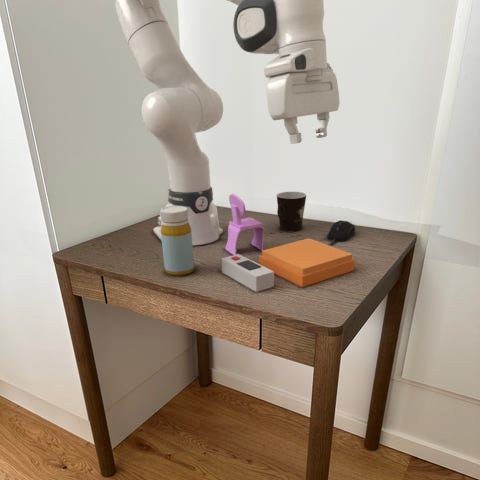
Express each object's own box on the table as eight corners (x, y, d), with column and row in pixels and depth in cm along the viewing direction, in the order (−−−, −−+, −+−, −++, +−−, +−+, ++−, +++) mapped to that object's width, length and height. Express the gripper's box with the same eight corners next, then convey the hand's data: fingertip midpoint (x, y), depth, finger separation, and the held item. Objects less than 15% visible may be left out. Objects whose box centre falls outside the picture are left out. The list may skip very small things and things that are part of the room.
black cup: (293, 222, 143) (294, 190, 138) (310, 229, 137) (312, 195, 132) (262, 229, 138) (262, 195, 133) (279, 236, 131) (279, 201, 127)
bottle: (166, 266, 113) (159, 206, 106) (194, 265, 113) (189, 204, 106) (164, 277, 107) (157, 214, 100) (194, 275, 107) (189, 212, 100)
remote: (222, 272, 109) (221, 257, 107) (238, 267, 111) (238, 252, 109) (256, 292, 98) (256, 275, 96) (274, 286, 101) (274, 270, 99)
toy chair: (266, 251, 121) (266, 193, 114) (236, 257, 117) (234, 198, 110) (252, 242, 127) (251, 187, 120) (223, 247, 124) (220, 191, 117)
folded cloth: (259, 266, 112) (258, 250, 110) (308, 252, 119) (309, 237, 117) (302, 287, 100) (302, 270, 98) (354, 270, 108) (355, 254, 106)
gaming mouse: (319, 243, 125) (320, 229, 123) (336, 228, 137) (337, 215, 135) (342, 246, 122) (343, 231, 121) (357, 231, 134) (358, 217, 132)
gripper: (318, 65, 96) (322, 135, 101) (257, 67, 83) (266, 148, 88) (345, 59, 92) (348, 132, 97) (286, 60, 79) (293, 145, 84)
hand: (309, 140), depth 93 cm, fingers open, 8 cm apart
